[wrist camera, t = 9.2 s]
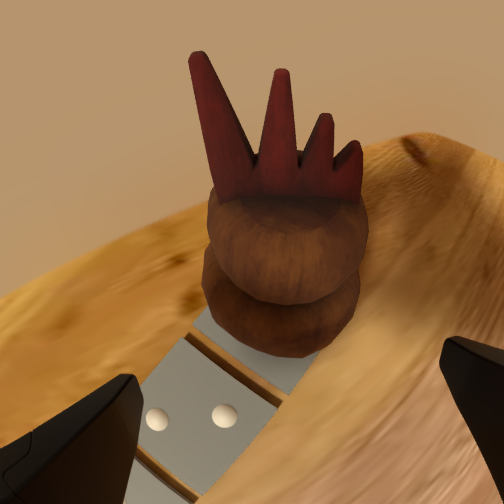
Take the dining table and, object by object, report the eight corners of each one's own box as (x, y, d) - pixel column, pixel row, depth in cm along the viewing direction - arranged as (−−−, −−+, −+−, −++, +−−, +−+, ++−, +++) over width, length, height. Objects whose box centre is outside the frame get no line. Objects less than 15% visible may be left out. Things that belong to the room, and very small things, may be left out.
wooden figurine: (203, 336, 17) (52, 116, 4) (244, 255, 19) (214, 7, 6) (312, 381, 15) (510, 250, 2) (344, 292, 18) (459, 61, 5)
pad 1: (194, 503, 12) (192, 505, 12) (134, 555, 10) (131, 558, 9) (107, 428, 15) (104, 428, 14) (59, 485, 12) (55, 486, 12)
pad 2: (350, 301, 18) (352, 298, 18) (288, 395, 16) (288, 394, 15) (261, 245, 20) (261, 241, 20) (193, 326, 18) (191, 324, 17)
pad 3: (277, 408, 15) (278, 409, 15) (203, 493, 13) (202, 495, 12) (183, 338, 17) (181, 336, 17) (116, 418, 15) (112, 418, 14)
